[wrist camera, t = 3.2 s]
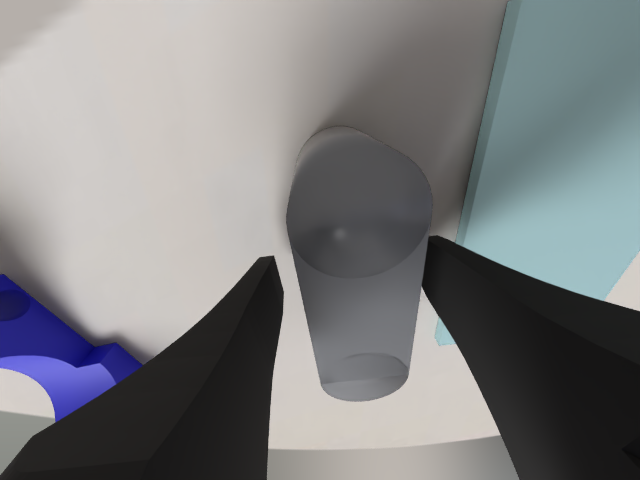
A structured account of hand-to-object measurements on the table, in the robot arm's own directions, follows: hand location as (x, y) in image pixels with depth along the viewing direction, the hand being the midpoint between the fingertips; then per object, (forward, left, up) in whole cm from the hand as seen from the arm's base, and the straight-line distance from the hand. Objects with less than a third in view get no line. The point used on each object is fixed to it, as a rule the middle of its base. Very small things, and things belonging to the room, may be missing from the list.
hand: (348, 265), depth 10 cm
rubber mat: (-10, 0, -2) cm, 10 cm away
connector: (0, 0, -2) cm, 2 cm away
